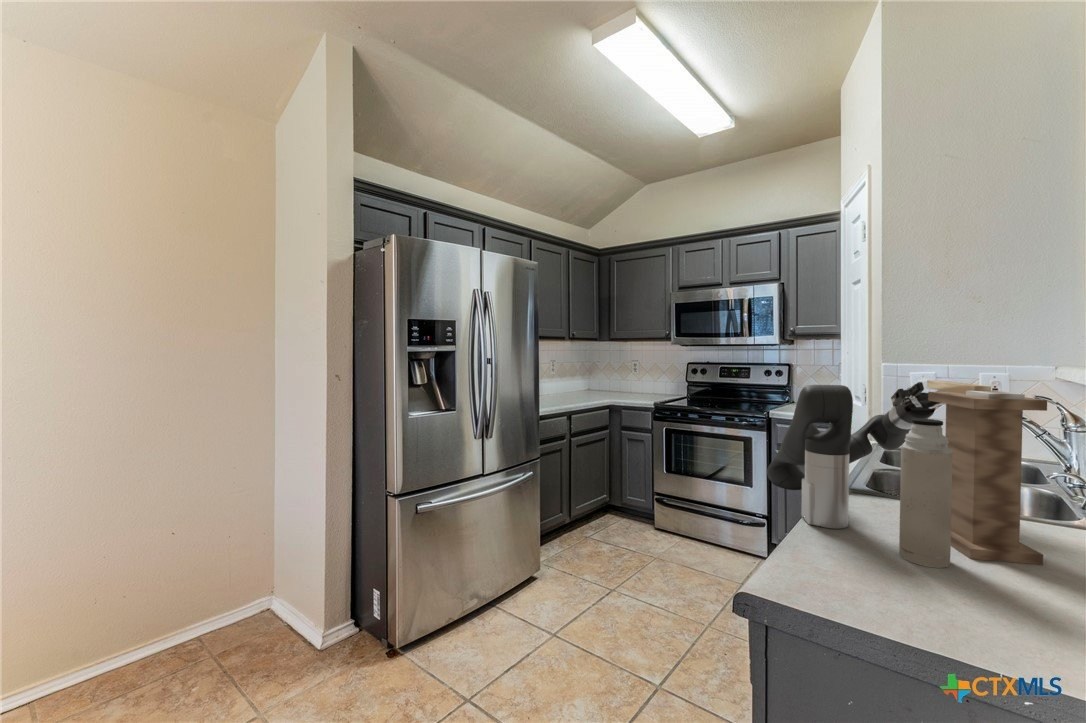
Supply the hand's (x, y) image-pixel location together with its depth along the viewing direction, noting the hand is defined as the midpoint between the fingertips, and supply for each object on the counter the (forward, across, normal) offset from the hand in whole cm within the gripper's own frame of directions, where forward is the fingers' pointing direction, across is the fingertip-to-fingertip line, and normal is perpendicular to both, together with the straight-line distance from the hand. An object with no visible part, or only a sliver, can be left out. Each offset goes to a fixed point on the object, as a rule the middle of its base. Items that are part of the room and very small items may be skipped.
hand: (941, 385), depth 116 cm
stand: (-3, 0, -36) cm, 36 cm away
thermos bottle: (+6, +15, -41) cm, 45 cm away
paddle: (+8, 0, -6) cm, 10 cm away
